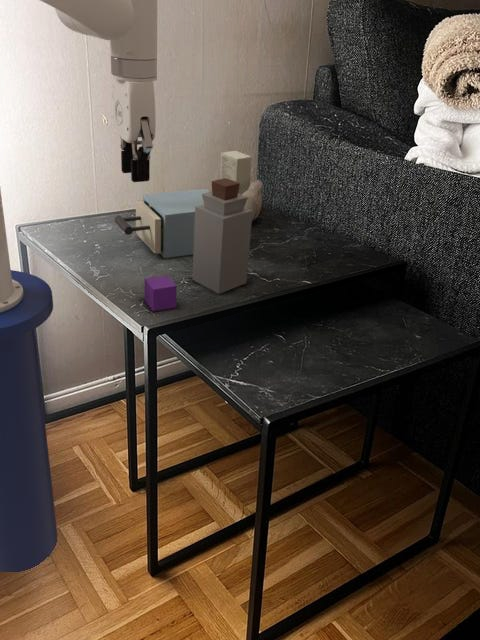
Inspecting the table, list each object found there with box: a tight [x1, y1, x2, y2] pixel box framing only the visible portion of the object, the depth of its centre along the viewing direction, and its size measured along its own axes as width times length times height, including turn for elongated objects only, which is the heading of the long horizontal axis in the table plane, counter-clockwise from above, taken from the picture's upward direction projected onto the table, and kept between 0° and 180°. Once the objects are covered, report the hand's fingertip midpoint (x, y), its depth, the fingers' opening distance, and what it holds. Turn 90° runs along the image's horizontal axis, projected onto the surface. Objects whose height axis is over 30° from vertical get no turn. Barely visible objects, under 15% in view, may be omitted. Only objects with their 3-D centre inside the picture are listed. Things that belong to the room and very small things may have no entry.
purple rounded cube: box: [143, 274, 178, 312], centre depth 98 cm, size 4×4×4 cm
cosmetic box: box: [219, 150, 252, 194], centre depth 139 cm, size 6×4×12 cm
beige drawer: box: [114, 200, 164, 255], centre depth 118 cm, size 18×10×7 cm, turn 118°
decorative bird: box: [241, 179, 266, 222], centre depth 132 cm, size 5×16×8 cm, turn 163°
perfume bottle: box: [192, 178, 253, 295], centre depth 104 cm, size 7×7×18 cm
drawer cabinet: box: [142, 188, 211, 259], centre depth 120 cm, size 14×12×9 cm
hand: (135, 175), depth 110 cm, fingers open, 4 cm apart
